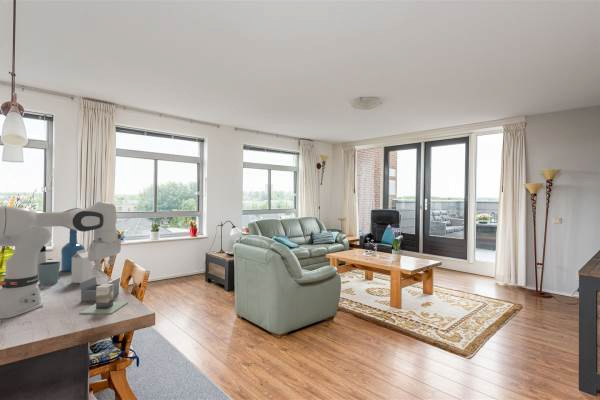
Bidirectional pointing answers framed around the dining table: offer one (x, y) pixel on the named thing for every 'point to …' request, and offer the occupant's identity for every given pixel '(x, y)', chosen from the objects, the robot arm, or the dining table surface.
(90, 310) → the sage mat
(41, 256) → the travel mug
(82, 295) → the storage tote
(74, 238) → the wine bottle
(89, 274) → the milk carton
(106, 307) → the box
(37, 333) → the dining table surface
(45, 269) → the grey-green plant pot
